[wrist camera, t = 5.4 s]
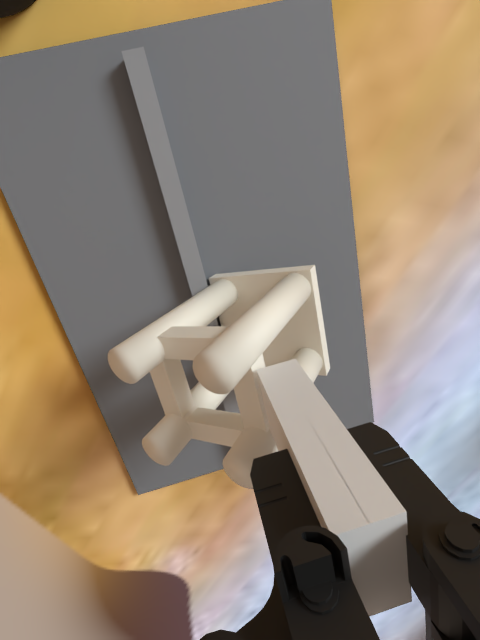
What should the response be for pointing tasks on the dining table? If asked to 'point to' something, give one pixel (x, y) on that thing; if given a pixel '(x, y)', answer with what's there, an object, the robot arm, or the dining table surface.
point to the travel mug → (13, 6)
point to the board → (184, 193)
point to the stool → (226, 360)
